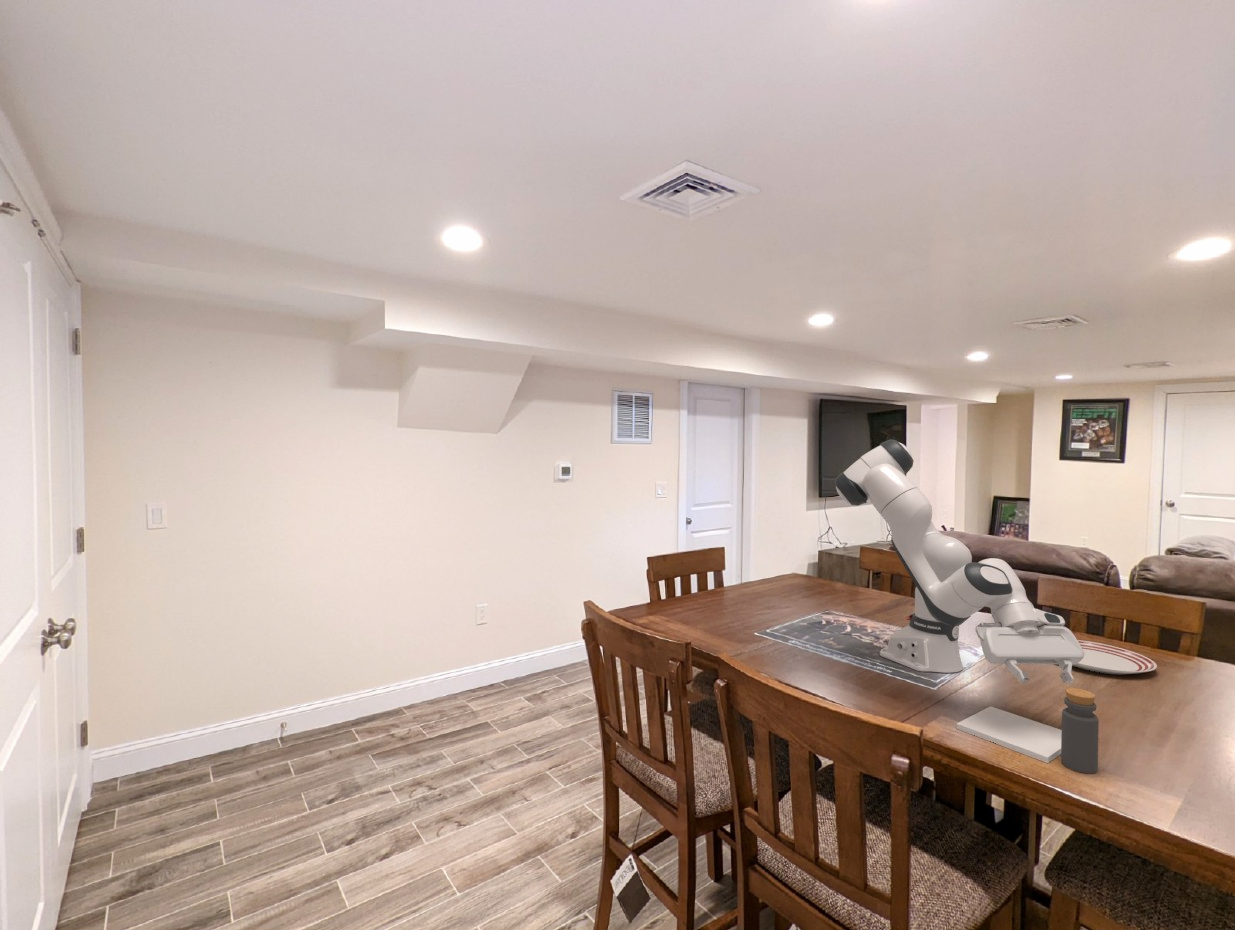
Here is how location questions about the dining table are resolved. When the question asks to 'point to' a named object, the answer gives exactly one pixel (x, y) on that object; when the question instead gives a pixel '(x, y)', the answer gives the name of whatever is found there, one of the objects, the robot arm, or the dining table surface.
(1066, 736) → the bottle
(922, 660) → the robot arm
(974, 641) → the dining table surface
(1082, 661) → the dinner plate
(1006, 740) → the grey board
